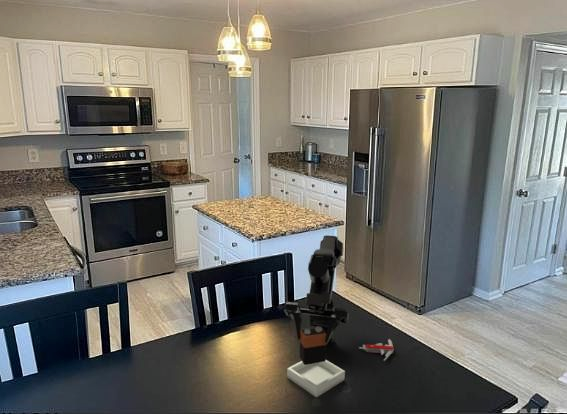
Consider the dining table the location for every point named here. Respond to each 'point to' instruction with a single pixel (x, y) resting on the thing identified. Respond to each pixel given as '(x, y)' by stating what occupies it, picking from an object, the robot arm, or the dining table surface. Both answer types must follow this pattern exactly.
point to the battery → (313, 345)
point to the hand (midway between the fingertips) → (312, 341)
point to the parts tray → (316, 376)
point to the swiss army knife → (379, 348)
